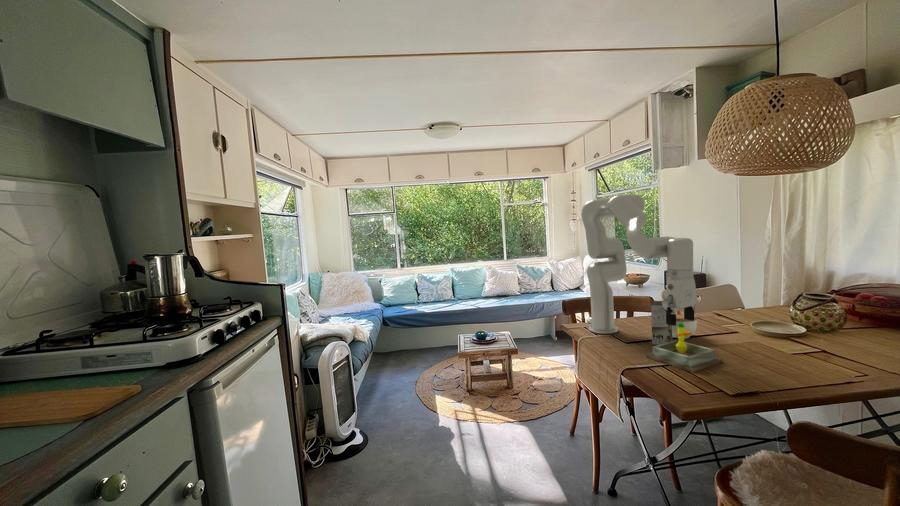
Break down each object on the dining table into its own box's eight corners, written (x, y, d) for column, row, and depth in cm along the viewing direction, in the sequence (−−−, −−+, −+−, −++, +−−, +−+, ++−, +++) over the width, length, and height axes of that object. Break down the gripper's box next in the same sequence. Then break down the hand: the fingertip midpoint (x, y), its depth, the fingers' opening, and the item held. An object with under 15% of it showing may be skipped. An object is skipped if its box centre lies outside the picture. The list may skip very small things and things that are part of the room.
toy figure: (686, 353, 124) (686, 320, 123) (695, 356, 121) (695, 322, 120) (671, 355, 123) (670, 322, 122) (679, 359, 119) (679, 325, 118)
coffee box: (670, 346, 134) (669, 305, 133) (651, 344, 138) (650, 304, 137) (673, 340, 141) (671, 300, 140) (654, 337, 145) (653, 299, 144)
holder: (646, 357, 126) (645, 346, 125) (675, 348, 132) (674, 338, 132) (692, 372, 111) (692, 360, 111) (722, 361, 117) (722, 350, 117)
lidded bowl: (694, 342, 137) (694, 315, 136) (658, 337, 145) (657, 311, 145) (700, 334, 146) (699, 308, 145) (665, 330, 154) (664, 305, 154)
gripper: (674, 278, 113) (674, 329, 114) (707, 272, 120) (707, 320, 121) (652, 275, 120) (653, 324, 121) (684, 269, 127) (685, 315, 128)
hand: (680, 322), depth 121 cm, fingers open, 9 cm apart
